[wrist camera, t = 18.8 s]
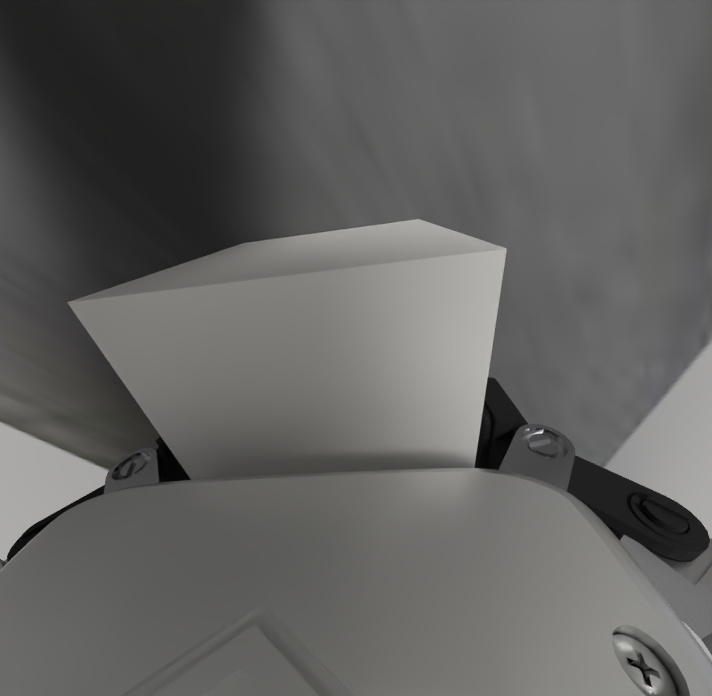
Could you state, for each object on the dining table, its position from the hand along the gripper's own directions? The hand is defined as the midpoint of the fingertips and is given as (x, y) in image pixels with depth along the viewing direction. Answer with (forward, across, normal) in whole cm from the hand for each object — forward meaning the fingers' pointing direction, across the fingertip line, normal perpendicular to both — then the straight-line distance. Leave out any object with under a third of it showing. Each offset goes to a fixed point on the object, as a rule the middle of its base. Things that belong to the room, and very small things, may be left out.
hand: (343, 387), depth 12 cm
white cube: (+3, 0, -2) cm, 4 cm away
